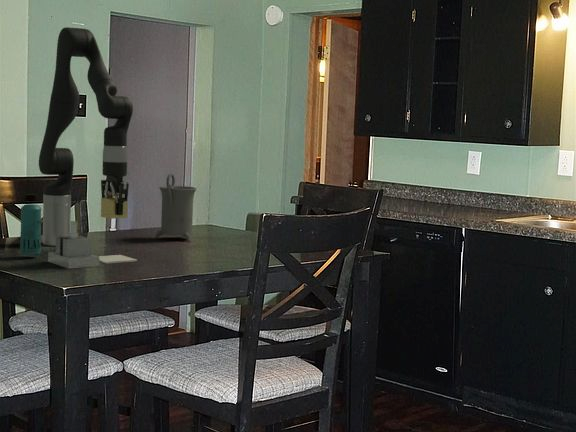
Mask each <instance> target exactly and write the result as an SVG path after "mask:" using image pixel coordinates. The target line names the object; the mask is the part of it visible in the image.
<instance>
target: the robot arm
mask: <svg viewBox="0 0 576 432" xmlns="http://www.w3.org/2000/svg"><path fill="white" fill-rule="evenodd" d="M72 57H74V58H75V57H78V58H85V59H86V60H87V61H88V62H89V66H88V70H87V76H86V78H87V81H88V84H89V86H90V87H91V90H92V92H93V93H94V95H95V99H96V103H97V110H98V113H99V114H100V115H101V116H102V117H103V118H105V119H112V120H113V119H114V120H116V121H115V123H114V125H111V126H107V127H105V128H104V131H103V148H102V149H103V150H102V176H105V177H106V178H105V179H101V180H100V188H101V189H100V191H101V198H109V197H115V199H116V215H123V203H124V202H125V201H127V199H128V197H129V182H125V181H124V177H126V176H127V175H128V148H127V147H128V146H127V142H128V139H127V138H128V130H129V128H130V127H129V126H130V123H131V120H132V117H133V114H134V112H133V111H134V106H133V105H134V104H133V102H132V100H131V99H130V98H129V97H128V96H119V95H117V93H118V89H117V88H118V87H117V85H116V83H115V82H114V80H113V78H112V77H111V75H110V73H109V72H108V70H107V67H106V66H105V62H104V59H103V57H102V54H101V50H100V48H99V45H98V42H97V39H96V38H95V35H94V34H93V32H92V31H91V30H89V29H87V28H81V27H80V28H78V27H67V26H66V27H63V28H62V29H61V30H60V32H59V34H58V38H57V45H56V58H55V69H54V77H53V78H54V79H53V83H52V84H53V85H52V90H51V93H50V101H49V105H48V116H47V121H46V127H45V132H44V136H43V140H42V143H41V147H40V150H39V155H38V168H39V171H40V173H41V174H42V175H46V176H55V175H56V176H57V178H56V179H55V180H54V181H52V182H50V183H48V184H46V185H44V187H43V189H42V190H43V195H42V197H43V199H42V200H43V202H42V204H43V206H42V210H43V211H42V244H43V245H45V246H55V247H56V237H63V236H71V221H72V220H71V219H72V218H71V215H72V189H73V188H72V187H73V177H74V165H75V163H74V161H75V160H74V153H73V151H72V150H71V149H70V148H67V147H57V144H58V141H59V139H60V137H61V136H62V135H63V133H65V131H66V130H67V128H68V127H70V125H71V124H72V122H73V121H74V120H75V118H76V117H77V113H78V108H79V103H80V92H79V90H78V87H77V85H76V82H75V80H74V78H73V75H72V71H71V63H72V62H71V61H72ZM118 197H119V199H118Z"/></svg>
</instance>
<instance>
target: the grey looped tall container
mask: <svg viewBox="0 0 576 432" xmlns="http://www.w3.org/2000/svg"><path fill="white" fill-rule="evenodd" d="M170 179H171V183H170ZM175 181H176V178H175V175H174V174H173V173H169V174H168V175H167V177H166V181H165V182H166V185H162V186H159V190H160V193H161V220H160V221H161V224H160V230H158V231H157V232H156V234H155V236H153V239H154V240H157V239H158V238H159V237H160V236H163V235H165V236H166V235H167V236H183V238H185V239H186V240H187V242H189V243H190V242H192V241H191V236H190V235H193V219H194V218H193V216H194V215H193V214H194V212H193V211H194V197H195V192H196V191H197V188H196V187H193V186H186V185H185V186H184V185H176V182H175Z"/></svg>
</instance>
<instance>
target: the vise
mask: <svg viewBox="0 0 576 432" xmlns="http://www.w3.org/2000/svg"><path fill="white" fill-rule="evenodd" d="M99 256H100V255H96V254H93V239H92V238H90V237H85V236H82V235H78V221H77V220H71V226H70V236H63V237H56V246H55V251H48V253H47V262H48V263H51V264H54V265H57V266H60V267H63V268H65V269H80V268H81V269H82V268H93V267H94V268H95V267H100V262H99Z"/></svg>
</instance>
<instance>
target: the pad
mask: <svg viewBox="0 0 576 432" xmlns="http://www.w3.org/2000/svg"><path fill="white" fill-rule="evenodd" d="M98 256H99V263H102V264H118V263H119V264H120V263H133V262H134V263H135V262H138V259H136V258H134V257H129V256H126V255H123V254H115V255H98Z"/></svg>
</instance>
